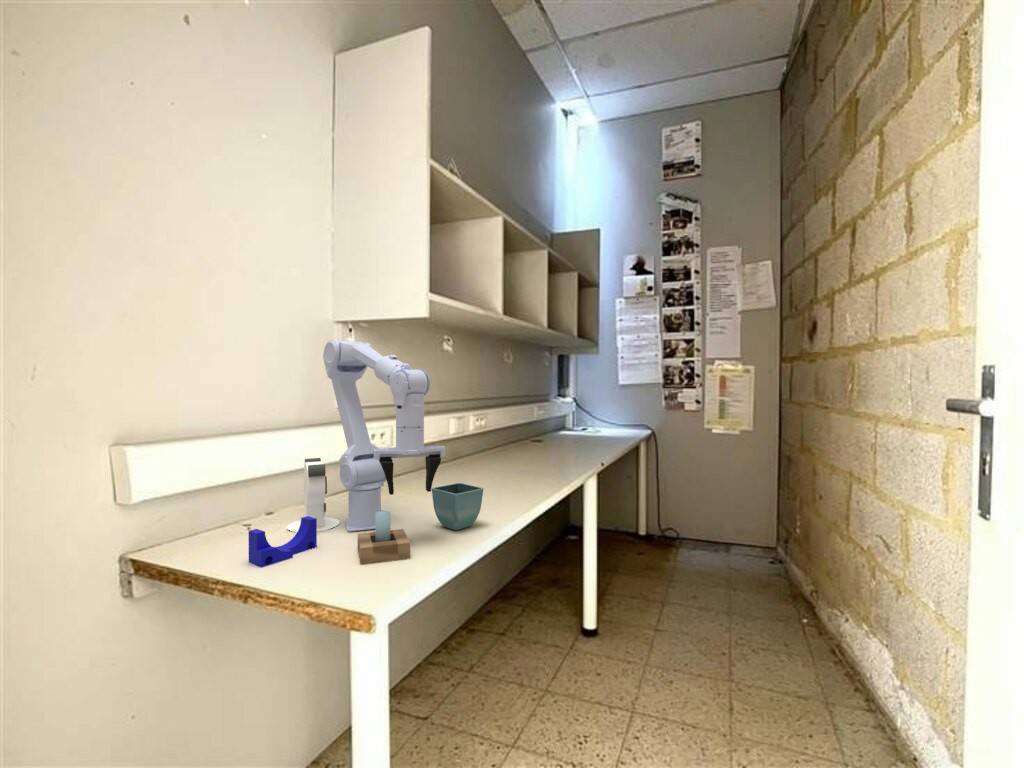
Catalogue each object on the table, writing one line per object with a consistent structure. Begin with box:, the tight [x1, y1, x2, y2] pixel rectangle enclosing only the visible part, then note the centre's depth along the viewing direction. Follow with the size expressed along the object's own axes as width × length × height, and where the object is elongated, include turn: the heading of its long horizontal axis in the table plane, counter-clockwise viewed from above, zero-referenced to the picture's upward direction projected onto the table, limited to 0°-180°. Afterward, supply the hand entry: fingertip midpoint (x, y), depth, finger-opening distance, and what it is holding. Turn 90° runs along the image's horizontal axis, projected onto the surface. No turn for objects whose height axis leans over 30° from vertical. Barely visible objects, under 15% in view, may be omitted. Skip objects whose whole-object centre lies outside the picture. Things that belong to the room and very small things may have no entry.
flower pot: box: [431, 482, 485, 531], centre depth 113 cm, size 9×9×9 cm
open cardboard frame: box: [357, 528, 411, 565], centre depth 95 cm, size 9×9×3 cm
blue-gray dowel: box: [375, 510, 391, 543], centre depth 95 cm, size 3×3×8 cm
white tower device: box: [286, 457, 341, 533], centre depth 113 cm, size 12×11×15 cm
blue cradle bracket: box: [248, 516, 318, 568], centre depth 94 cm, size 12×4×6 cm, turn 145°
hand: (410, 492), depth 102 cm, fingers open, 7 cm apart
